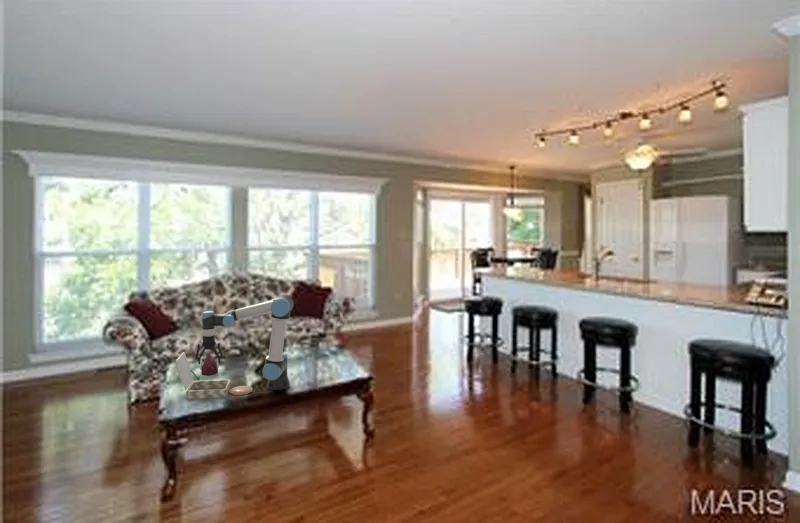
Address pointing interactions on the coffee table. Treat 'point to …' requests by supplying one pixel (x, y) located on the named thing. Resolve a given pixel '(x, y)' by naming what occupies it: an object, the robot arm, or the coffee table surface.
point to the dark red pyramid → (209, 366)
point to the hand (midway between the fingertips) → (209, 368)
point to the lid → (184, 370)
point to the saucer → (240, 390)
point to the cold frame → (208, 384)
